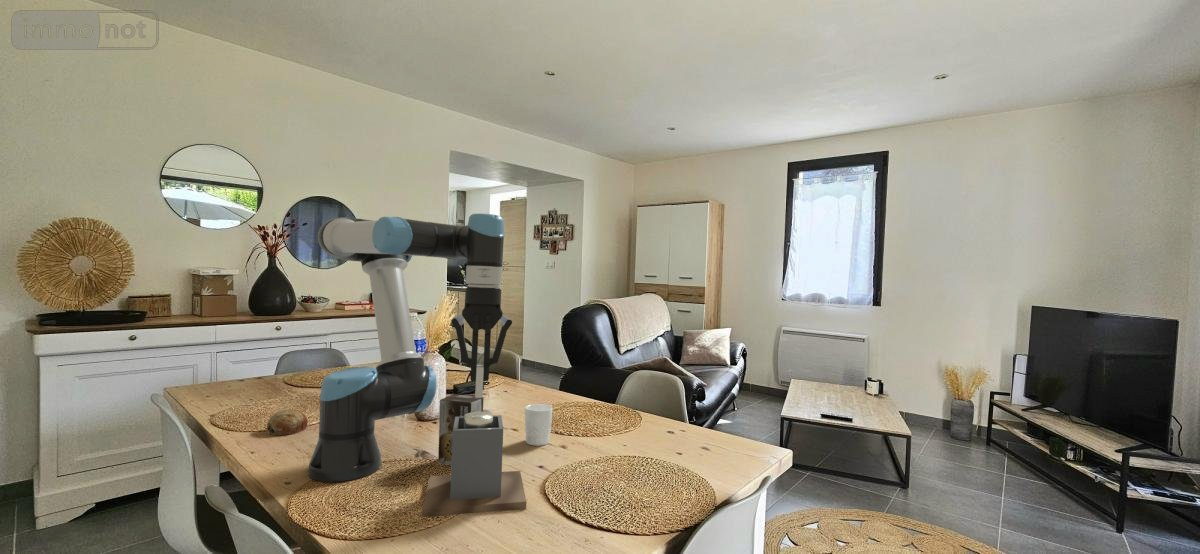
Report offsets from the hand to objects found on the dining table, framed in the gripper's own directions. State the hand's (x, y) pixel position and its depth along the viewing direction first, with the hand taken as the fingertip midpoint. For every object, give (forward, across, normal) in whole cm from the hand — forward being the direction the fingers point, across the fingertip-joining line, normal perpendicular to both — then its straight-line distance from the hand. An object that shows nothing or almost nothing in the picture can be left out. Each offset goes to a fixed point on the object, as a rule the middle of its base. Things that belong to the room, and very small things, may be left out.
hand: (478, 396), depth 102 cm
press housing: (+20, 0, 0) cm, 20 cm away
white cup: (+22, +17, +32) cm, 42 cm away
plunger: (+19, 0, 0) cm, 19 cm away
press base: (+21, 0, 0) cm, 21 cm away
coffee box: (+22, -4, +20) cm, 29 cm away
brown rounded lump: (+22, -54, +52) cm, 78 cm away
